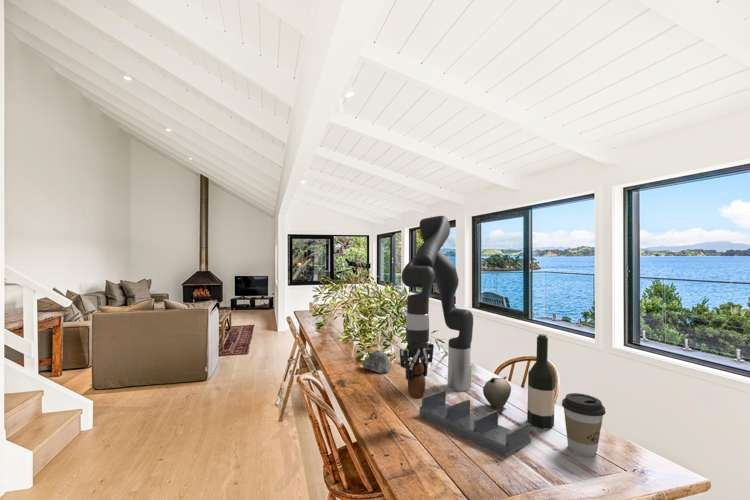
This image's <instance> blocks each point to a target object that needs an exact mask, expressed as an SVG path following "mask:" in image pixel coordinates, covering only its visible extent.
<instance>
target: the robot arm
mask: <svg viewBox="0 0 750 500" xmlns="http://www.w3.org/2000/svg"><path fill="white" fill-rule="evenodd" d="M419 231H420V236H421V239H422V241H423V243H421V245H419V247H418V248H417V250H416V253H415V255H414V257H413V258H412V259H411V260H410V261H409V262H408V263H406V265H405V266H404V268H403V269H402V272H401V281H402V283H403V284H404V286H406V287H409V288H422V290H421V291H420V292H418V293H414V294H413V293H412V294H409V295H408V296H407V298H406V299H407V300H406V319H405V341H406V343H407V345H406V346H405V347H406V348H404V349H403V348H400V349H399V362H400V364H399V365H400V367H401V368H403V369H405V379H406V380H407V382H408V381H412V380H413V369H412V368H413V365H414V363H416V360H417V358H418V355H419V361H420V362H421V363H422V364H423V366H424V372H423V375H424V377H425V378H426V377H427V376H428V373H429V372H428V370H429V369H428V366H429V364H430V363H433V357H434V346H435V344H433V343H430V342H429V341H430V314H429V312H430V311H429V308H430V307H429V305H430V295H431V292H432V288H433V285H434V282H435V284H436V286H437V289H438V290H437V291H438V293H439V298H440V301H441V308H442V313H443V319H444V323H445V325H446V327H447V328H448V329H450V330H453V331H458V336H456V337H452V338H449V339H448V344H447V345H448V348H447V350H448V351H447V353H448V354H447V355H448V358H447V388H448V389H450V390H452V391H458V392H467V391H469V390H470V389H471V387H472V364H471V351H472V349H471V348H472V347H471V346H472V341H473V330H474V315H473V313H472V311H470V310H468V309H463V308H457V306H456V304H455V293H456V292H457V289H458V287H459V280H460V279H459V276H458V275H459V274H458V272H457V269H456V266H455V264H454V263H453V261H452V260H450V258H448V257H447V256H446V255H445V254H444V253H443V252H442V251H441V248H442V247H443V245H444V244H445V243H446V241H447V240H448V238H449V237H450V234H451V226H450V222H449V219H448V218H447V216H445V215H436V216H431V217H426V218H425V217H424V218H422V219H420V221H419Z"/></svg>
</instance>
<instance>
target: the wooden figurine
mask: <svg viewBox="0 0 750 500" xmlns="http://www.w3.org/2000/svg"><path fill="white" fill-rule="evenodd" d="M412 369H413V380H412V381H408V380H407V393H408V395H409V397H410V398H412V399H415V400H419V399H422V397H425V392H426V384H427V383H426V382H427V381H426V377H424V375H423V372H424V366H423V364H422V363H421V361H420V359H419V355H418V358H417V360H416V363H414V365H413V368H412Z"/></svg>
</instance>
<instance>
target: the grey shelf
mask: <svg viewBox="0 0 750 500" xmlns="http://www.w3.org/2000/svg"><path fill="white" fill-rule="evenodd" d="M446 392H447V391H446V390H445V389H444V390H441V391H437V392H434V393H432V394H428V395H426V396H425V395H424V396H423V397H422V398H421V406H419V411H418V412H419V415H418V417H421V418H422V419H424V420H427V421H428V422H430V423H432V424H435V425H436V426H439V427H441V428H443V429H445V430H447V431H450V432H451V433H454V434H455V435H457V436H460V437H462V438H464V439H466V440H468V441H469V442H472V443H474V444H477V445H478V446H481V447H483V448H485V449H487V450H488V451H491V452H493V453H494V454H498V455H499V456H502V457H504V458H506V459H507V458H508V457H510V456H512V455H514V454H515V453H516V452H518V451H520V450H521V449H524V448H525V447H527V446H528V445H530V444H531V443H532V438H531V425H530V423H529V422H525V423H523V424H522V425H519V426H518V427H516V428H514V429H509V428H507V427H504V426H502V425H499V411H497V410H495V411H493V412H492V411H490V412H488V413H486V414H484V415H482V416H477V415H475V414H473V413H471V399H466V400H463V401H461V402H459V403H455V404H453V405H451V404H450V403H449V404H448V403H447V402H446V400H447V399H446V398H447V397H446V395H447V393H446Z"/></svg>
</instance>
